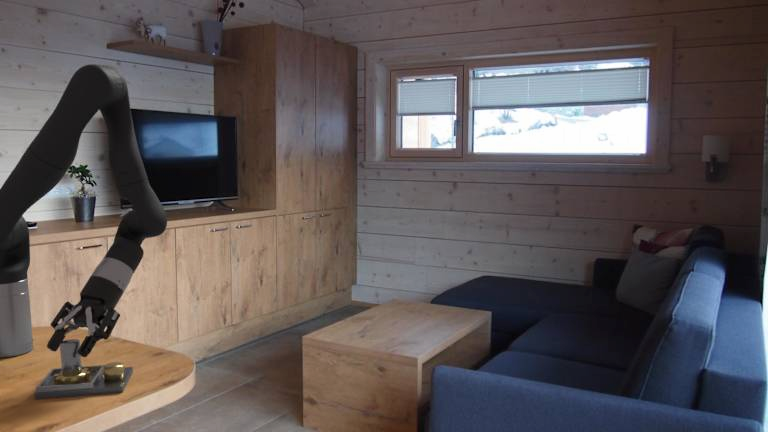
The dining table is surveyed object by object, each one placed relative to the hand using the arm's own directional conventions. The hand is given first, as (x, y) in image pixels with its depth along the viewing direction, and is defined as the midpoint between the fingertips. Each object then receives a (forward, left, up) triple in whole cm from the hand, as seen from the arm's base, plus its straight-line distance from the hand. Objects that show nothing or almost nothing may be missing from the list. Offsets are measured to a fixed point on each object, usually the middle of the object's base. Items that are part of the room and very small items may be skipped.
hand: (65, 352), depth 130 cm
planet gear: (+1, +1, -6) cm, 6 cm away
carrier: (+3, +1, -7) cm, 8 cm away
